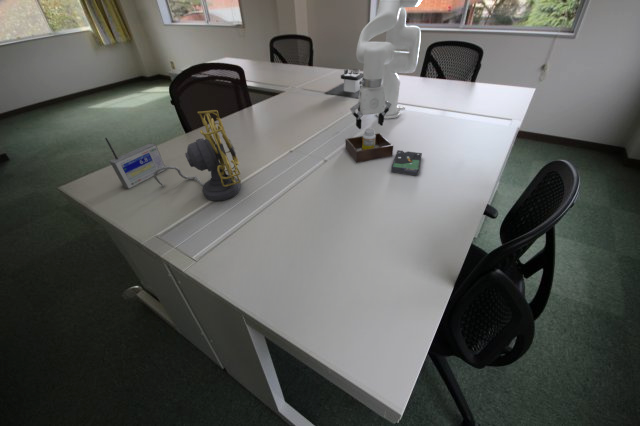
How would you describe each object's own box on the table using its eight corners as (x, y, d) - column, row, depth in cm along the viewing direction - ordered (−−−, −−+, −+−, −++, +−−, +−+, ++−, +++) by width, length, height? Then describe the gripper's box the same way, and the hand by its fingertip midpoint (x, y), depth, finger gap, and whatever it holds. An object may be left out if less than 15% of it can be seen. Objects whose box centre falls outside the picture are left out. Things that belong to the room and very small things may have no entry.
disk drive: (396, 155, 127) (390, 172, 116) (396, 149, 125) (391, 166, 114) (421, 158, 124) (418, 176, 113) (422, 152, 122) (419, 169, 111)
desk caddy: (378, 143, 137) (379, 133, 134) (392, 156, 126) (393, 145, 123) (345, 149, 134) (345, 138, 131) (356, 162, 123) (356, 151, 120)
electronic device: (128, 189, 115) (103, 141, 103) (119, 184, 118) (93, 138, 106) (167, 169, 126) (148, 124, 114) (157, 165, 129) (138, 121, 117)
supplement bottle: (366, 148, 133) (367, 126, 127) (376, 151, 130) (378, 129, 124) (359, 153, 130) (360, 131, 124) (370, 156, 127) (371, 134, 121)
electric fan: (248, 205, 103) (228, 122, 85) (151, 224, 97) (106, 140, 78) (242, 169, 123) (224, 96, 104) (161, 184, 117) (127, 108, 98)
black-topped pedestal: (378, 87, 205) (379, 66, 196) (361, 98, 188) (362, 76, 180) (343, 83, 217) (343, 63, 209) (324, 93, 200) (323, 72, 192)
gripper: (354, 87, 107) (353, 132, 118) (397, 82, 111) (392, 126, 121) (347, 82, 113) (347, 125, 123) (388, 78, 116) (384, 120, 127)
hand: (369, 126), depth 122 cm, fingers open, 9 cm apart
